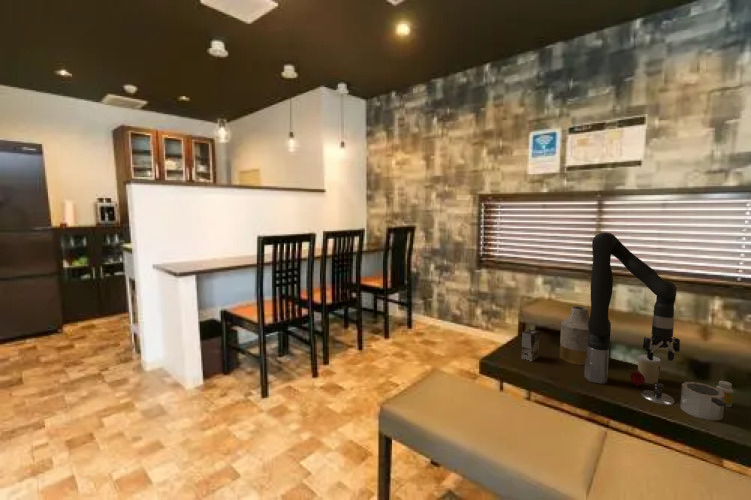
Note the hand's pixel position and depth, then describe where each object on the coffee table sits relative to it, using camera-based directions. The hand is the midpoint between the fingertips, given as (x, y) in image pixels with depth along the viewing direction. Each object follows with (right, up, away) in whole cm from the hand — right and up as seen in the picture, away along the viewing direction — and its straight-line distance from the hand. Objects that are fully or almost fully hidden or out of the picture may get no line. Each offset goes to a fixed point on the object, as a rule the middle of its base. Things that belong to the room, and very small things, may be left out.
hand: (660, 359), depth 160 cm
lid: (0, -18, +2) cm, 18 cm away
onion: (-1, -17, +13) cm, 21 cm away
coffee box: (-39, -14, +48) cm, 63 cm away
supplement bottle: (+25, -18, -4) cm, 31 cm away
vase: (-12, -14, +46) cm, 49 cm away
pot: (+9, -19, -10) cm, 23 cm away
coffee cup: (+8, -16, +18) cm, 26 cm away
